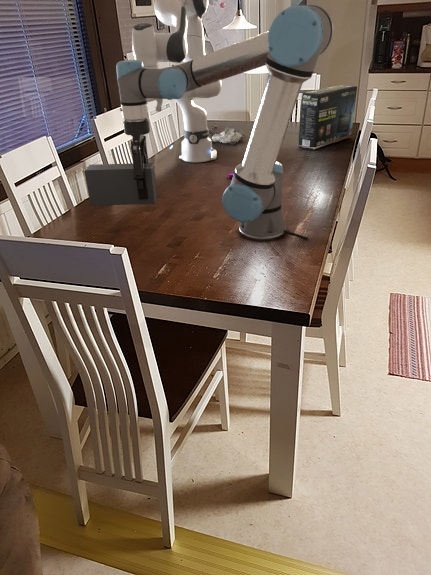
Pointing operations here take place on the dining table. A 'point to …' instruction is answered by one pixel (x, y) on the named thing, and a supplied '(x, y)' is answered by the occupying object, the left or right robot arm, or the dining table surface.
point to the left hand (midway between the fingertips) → (151, 113)
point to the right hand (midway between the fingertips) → (144, 195)
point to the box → (118, 184)
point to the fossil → (228, 136)
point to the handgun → (230, 175)
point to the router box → (326, 115)
